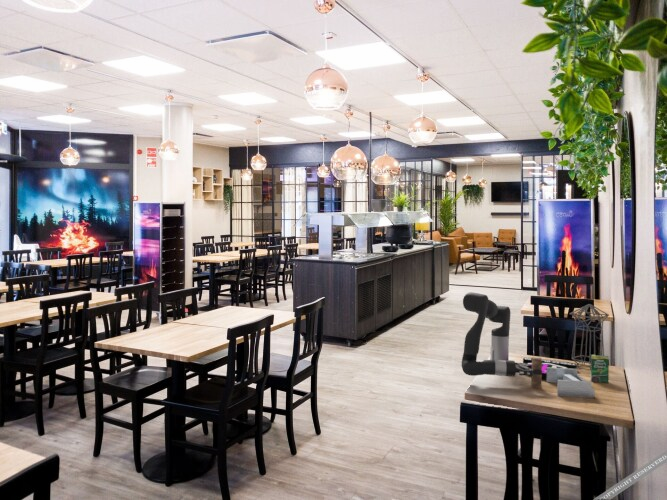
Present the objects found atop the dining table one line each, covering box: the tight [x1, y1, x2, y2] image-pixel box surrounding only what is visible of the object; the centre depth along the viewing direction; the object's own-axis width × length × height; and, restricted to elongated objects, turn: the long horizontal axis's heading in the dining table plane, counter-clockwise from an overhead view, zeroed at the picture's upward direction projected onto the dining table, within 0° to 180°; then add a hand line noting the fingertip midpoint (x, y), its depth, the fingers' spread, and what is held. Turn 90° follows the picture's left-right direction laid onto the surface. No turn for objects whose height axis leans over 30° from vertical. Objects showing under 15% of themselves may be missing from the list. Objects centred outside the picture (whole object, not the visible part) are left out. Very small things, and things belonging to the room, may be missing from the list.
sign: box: [522, 357, 578, 381], centre depth 279 cm, size 27×4×30 cm
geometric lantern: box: [569, 303, 610, 371], centre depth 288 cm, size 16×16×35 cm
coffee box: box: [590, 354, 610, 384], centre depth 263 cm, size 8×3×13 cm, turn 67°
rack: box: [545, 367, 595, 399], centre depth 250 cm, size 16×23×7 cm
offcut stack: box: [563, 374, 580, 381], centre depth 249 cm, size 4×12×6 cm, turn 0°
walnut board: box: [530, 356, 543, 390], centre depth 253 cm, size 4×3×14 cm
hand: (539, 369), depth 252 cm, fingers open, 8 cm apart
